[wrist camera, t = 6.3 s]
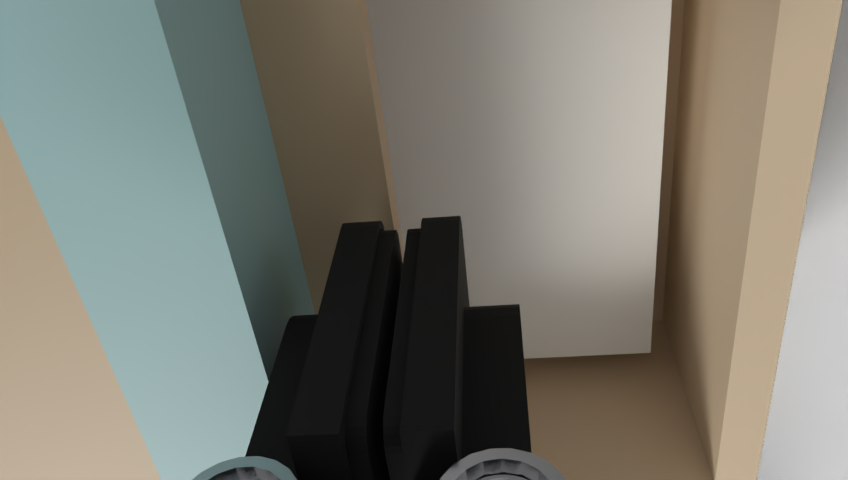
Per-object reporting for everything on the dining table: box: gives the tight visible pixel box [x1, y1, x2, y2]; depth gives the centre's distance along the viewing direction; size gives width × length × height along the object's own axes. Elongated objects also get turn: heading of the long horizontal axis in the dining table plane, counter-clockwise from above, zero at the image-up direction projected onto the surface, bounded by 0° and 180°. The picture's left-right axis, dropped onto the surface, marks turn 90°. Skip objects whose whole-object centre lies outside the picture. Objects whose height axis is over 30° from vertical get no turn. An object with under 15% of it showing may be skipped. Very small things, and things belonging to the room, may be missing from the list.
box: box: [366, 0, 843, 480], centre depth 16 cm, size 22×14×6 cm, turn 97°
